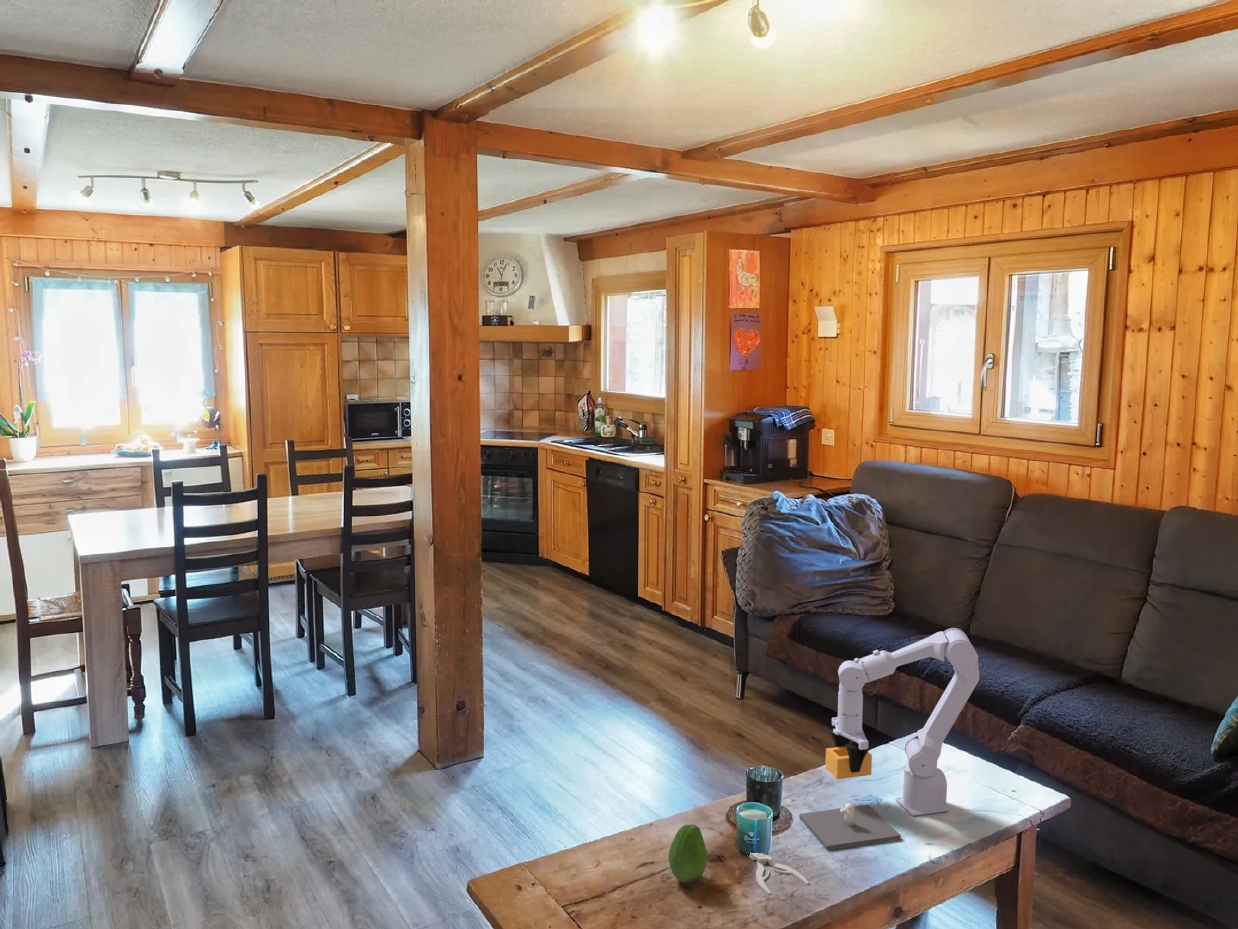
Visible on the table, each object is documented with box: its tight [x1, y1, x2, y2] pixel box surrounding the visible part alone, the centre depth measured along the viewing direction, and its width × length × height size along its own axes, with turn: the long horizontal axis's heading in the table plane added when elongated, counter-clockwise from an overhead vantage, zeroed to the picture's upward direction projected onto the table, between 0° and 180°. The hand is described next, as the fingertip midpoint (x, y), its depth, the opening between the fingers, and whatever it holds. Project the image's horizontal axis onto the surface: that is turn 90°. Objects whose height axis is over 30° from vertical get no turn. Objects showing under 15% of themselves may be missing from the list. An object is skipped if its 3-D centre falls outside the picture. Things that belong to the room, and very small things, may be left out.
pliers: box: [748, 852, 810, 895], centre depth 187 cm, size 10×2×15 cm
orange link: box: [825, 746, 873, 780], centre depth 215 cm, size 9×6×5 cm, turn 104°
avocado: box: [668, 824, 708, 884], centre depth 183 cm, size 8×8×12 cm
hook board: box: [799, 802, 902, 851], centre depth 203 cm, size 18×14×6 cm
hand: (848, 765), depth 215 cm, fingers closed on orange link, 6 cm apart
